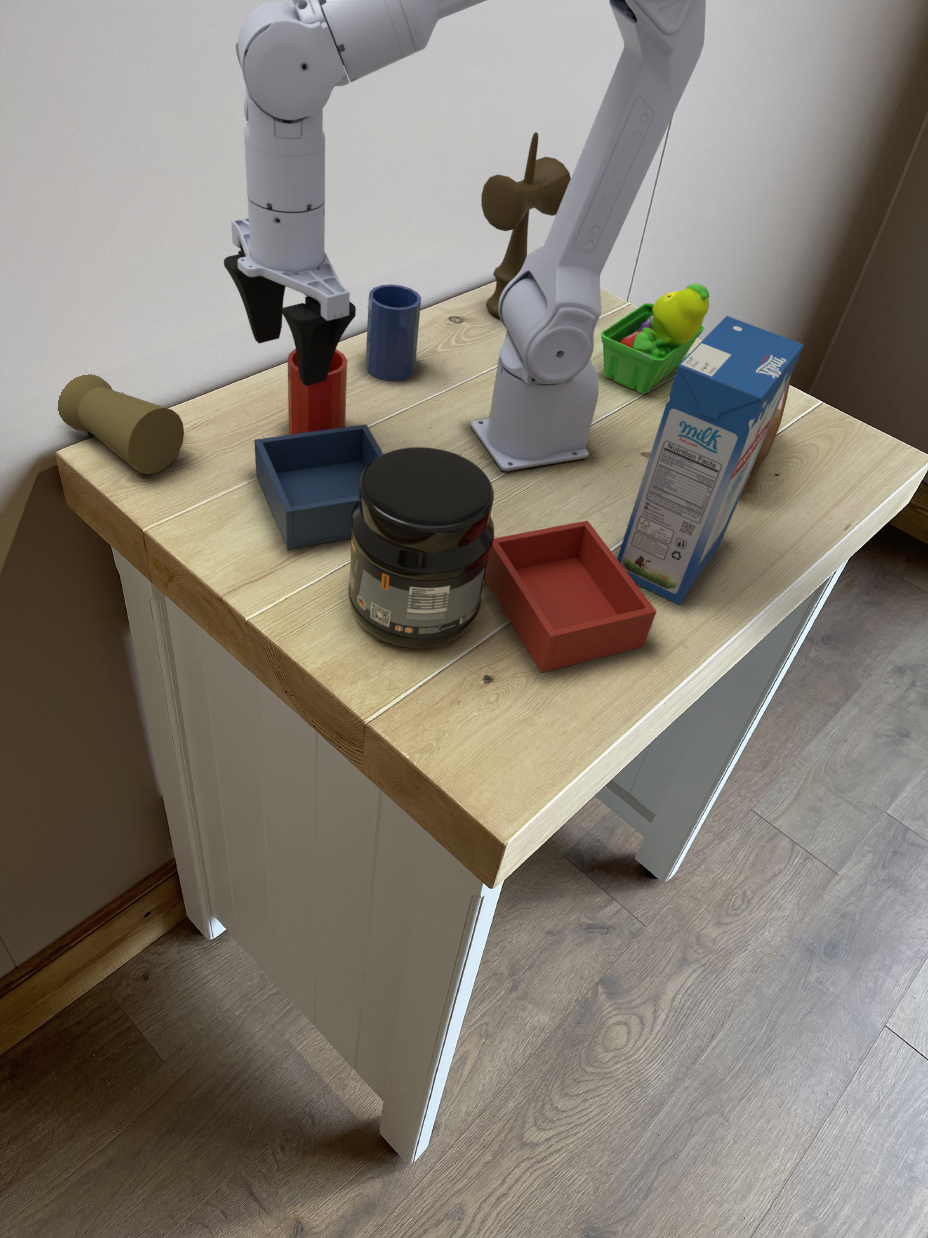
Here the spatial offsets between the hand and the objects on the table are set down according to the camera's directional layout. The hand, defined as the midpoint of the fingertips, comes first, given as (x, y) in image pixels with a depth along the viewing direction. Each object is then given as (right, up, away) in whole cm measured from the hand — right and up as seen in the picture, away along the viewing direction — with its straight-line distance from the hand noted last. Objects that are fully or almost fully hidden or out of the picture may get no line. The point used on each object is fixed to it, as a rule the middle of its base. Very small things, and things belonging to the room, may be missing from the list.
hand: (290, 359), depth 78 cm
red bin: (+23, -21, -4) cm, 31 cm away
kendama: (+20, +14, +31) cm, 40 cm away
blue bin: (+3, -12, +2) cm, 12 cm away
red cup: (+1, -5, +9) cm, 10 cm away
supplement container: (+11, -21, -5) cm, 24 cm away
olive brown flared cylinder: (-11, -7, +1) cm, 13 cm away
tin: (+43, -7, +14) cm, 46 cm away
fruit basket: (+35, +5, +25) cm, 44 cm away
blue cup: (+7, +5, +19) cm, 21 cm away
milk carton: (+33, -17, +3) cm, 37 cm away
